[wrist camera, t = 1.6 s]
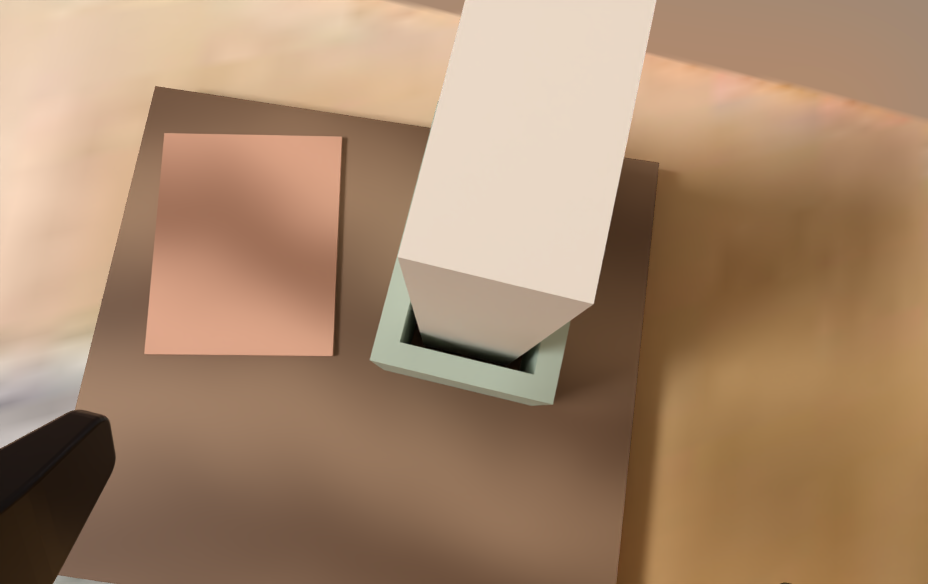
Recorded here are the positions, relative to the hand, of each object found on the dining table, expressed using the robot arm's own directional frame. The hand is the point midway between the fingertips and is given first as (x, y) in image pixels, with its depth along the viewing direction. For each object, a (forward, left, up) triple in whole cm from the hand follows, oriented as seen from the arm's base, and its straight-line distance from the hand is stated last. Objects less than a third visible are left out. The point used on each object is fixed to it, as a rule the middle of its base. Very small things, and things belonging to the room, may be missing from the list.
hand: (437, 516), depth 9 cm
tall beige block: (+4, +3, -11) cm, 13 cm away
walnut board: (0, +4, -12) cm, 13 cm away
